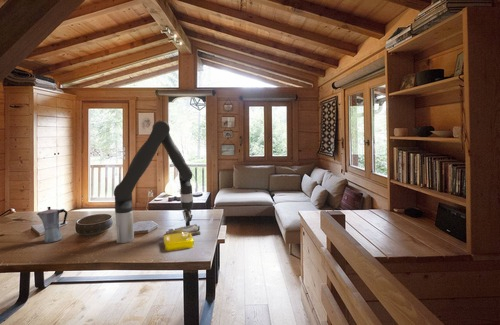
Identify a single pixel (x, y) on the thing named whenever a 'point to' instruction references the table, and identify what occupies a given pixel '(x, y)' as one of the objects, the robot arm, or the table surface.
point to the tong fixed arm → (184, 230)
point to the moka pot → (52, 224)
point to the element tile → (178, 241)
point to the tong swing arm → (186, 226)
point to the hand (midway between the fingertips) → (187, 227)
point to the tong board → (189, 232)
